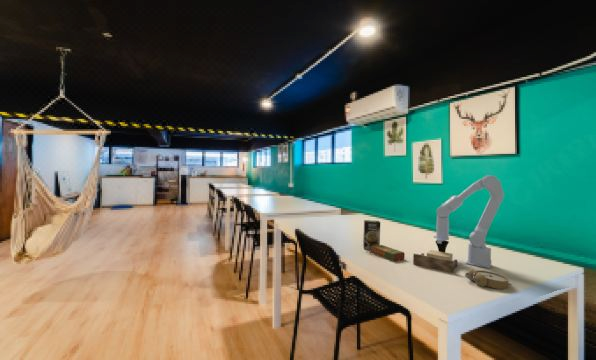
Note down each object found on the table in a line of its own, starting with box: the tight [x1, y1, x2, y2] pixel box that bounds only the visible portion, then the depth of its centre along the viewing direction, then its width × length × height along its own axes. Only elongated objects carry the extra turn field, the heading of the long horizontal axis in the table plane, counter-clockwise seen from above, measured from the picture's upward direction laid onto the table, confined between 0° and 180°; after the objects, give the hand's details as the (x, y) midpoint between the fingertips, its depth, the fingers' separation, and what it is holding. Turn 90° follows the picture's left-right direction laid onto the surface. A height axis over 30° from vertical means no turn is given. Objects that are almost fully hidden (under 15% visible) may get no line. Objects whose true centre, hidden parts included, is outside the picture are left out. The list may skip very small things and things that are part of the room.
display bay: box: [412, 252, 458, 274], centre depth 129 cm, size 17×14×5 cm
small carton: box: [426, 249, 454, 261], centre depth 135 cm, size 10×8×4 cm
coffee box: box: [362, 219, 381, 250], centre depth 157 cm, size 9×6×16 cm
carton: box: [370, 244, 406, 262], centre depth 142 cm, size 8×16×4 cm, turn 27°
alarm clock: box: [464, 268, 513, 290], centre depth 107 cm, size 11×5×15 cm
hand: (441, 254), depth 139 cm, fingers closed
